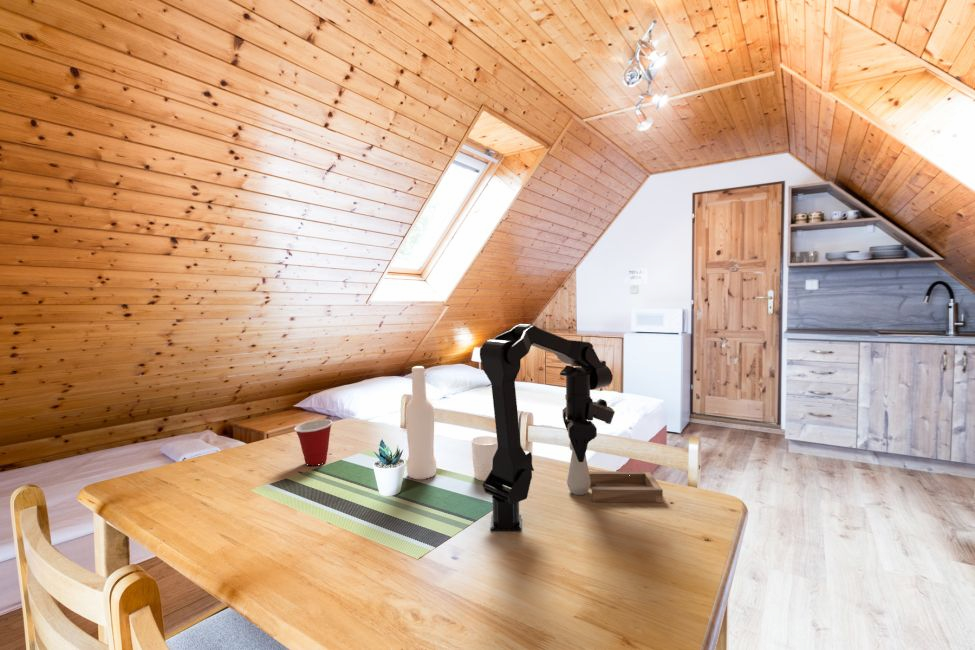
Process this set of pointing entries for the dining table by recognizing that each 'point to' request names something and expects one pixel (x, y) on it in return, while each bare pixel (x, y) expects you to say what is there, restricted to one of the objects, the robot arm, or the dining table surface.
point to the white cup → (483, 455)
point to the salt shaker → (578, 475)
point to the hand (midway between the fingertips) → (578, 455)
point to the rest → (625, 487)
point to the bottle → (420, 429)
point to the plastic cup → (314, 440)
